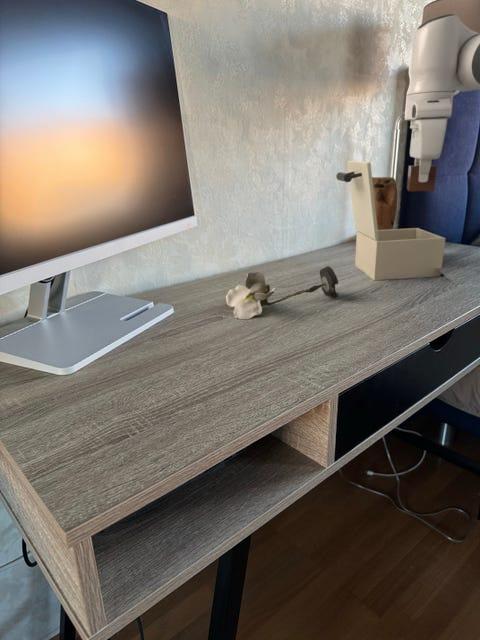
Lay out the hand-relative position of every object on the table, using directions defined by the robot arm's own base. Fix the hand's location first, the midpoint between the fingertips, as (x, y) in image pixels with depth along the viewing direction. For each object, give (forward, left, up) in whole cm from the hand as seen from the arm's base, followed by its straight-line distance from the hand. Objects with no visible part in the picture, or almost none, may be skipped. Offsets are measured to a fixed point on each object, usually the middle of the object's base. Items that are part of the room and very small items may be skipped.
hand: (420, 180), depth 96 cm
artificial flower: (+30, +20, -21) cm, 42 cm away
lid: (+11, -3, -4) cm, 12 cm away
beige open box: (+2, -4, -21) cm, 22 cm away
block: (0, -31, -21) cm, 38 cm away
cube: (0, 0, -2) cm, 2 cm away
